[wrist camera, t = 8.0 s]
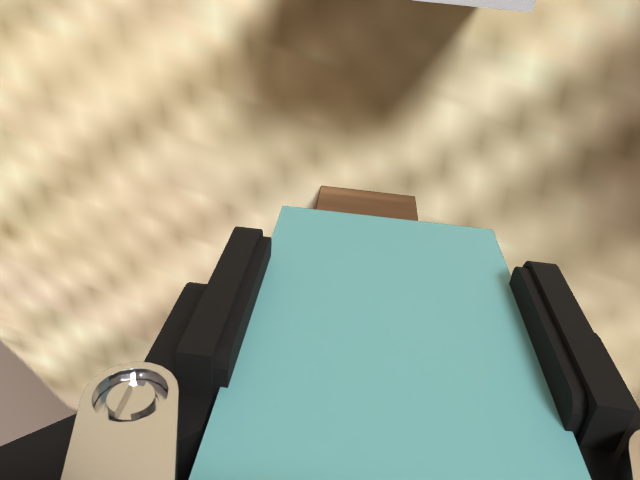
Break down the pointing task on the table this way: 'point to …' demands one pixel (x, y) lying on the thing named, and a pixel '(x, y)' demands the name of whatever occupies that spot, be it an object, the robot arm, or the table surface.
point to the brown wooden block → (367, 203)
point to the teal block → (385, 363)
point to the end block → (492, 4)
